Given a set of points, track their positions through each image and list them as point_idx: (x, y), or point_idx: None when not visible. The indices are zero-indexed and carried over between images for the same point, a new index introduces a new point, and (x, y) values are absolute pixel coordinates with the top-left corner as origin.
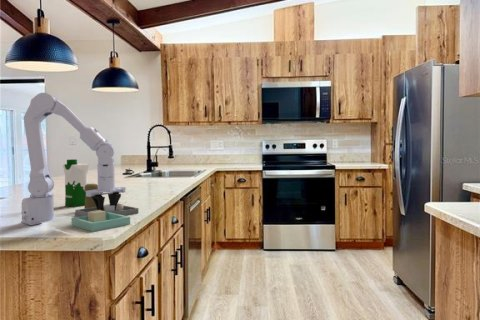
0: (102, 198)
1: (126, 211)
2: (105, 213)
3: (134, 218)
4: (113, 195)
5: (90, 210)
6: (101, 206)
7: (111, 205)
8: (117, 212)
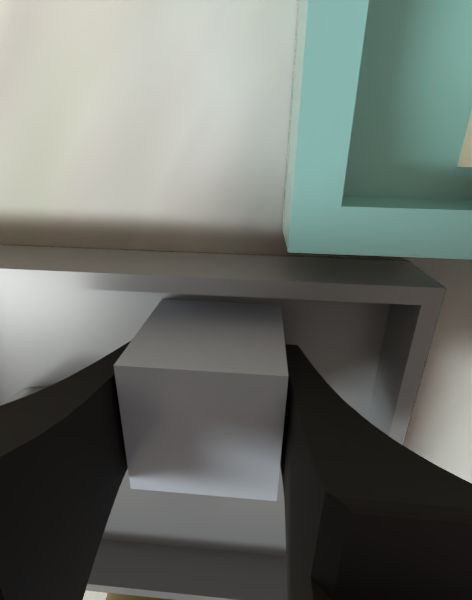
0: (390, 487)
1: (14, 263)
2: (371, 207)
3: (16, 93)
4: (11, 553)
5: (225, 573)
6: (333, 397)
7: (152, 392)
8: (136, 271)
